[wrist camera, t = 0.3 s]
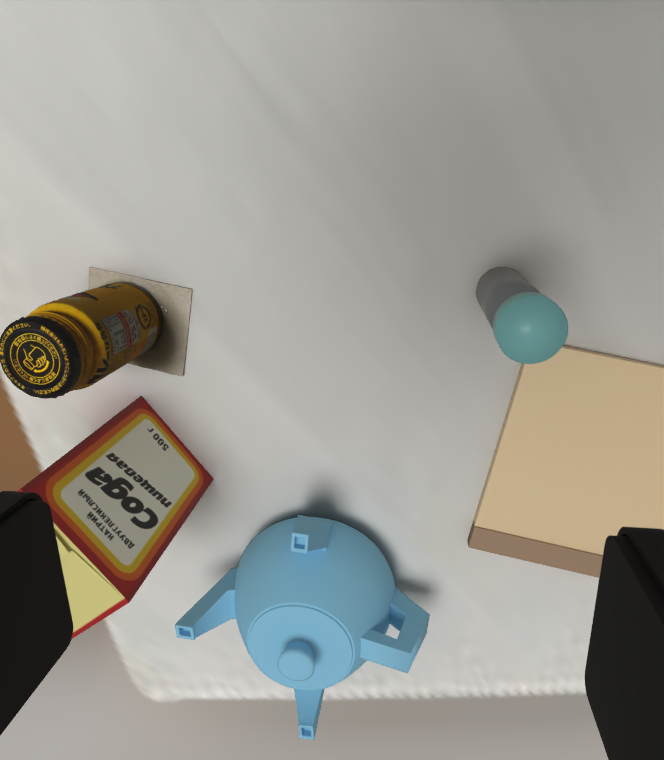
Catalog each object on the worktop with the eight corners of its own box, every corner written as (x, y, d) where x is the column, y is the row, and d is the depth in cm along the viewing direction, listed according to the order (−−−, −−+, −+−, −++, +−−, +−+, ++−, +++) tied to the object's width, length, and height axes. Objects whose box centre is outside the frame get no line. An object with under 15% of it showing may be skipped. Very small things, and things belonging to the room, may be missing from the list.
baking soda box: (213, 478, 50) (126, 606, 35) (162, 514, 52) (58, 649, 37) (141, 395, 48) (16, 491, 33) (90, 435, 50) (-49, 543, 35)
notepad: (529, 338, 42) (532, 342, 41) (869, 408, 40) (880, 413, 39) (467, 540, 48) (468, 547, 47) (759, 607, 46) (766, 616, 45)
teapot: (317, 666, 55) (296, 775, 45) (204, 565, 53) (154, 655, 43) (437, 585, 50) (443, 687, 40) (318, 469, 48) (292, 546, 38)
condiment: (90, 266, 45) (-19, 294, 34) (192, 289, 44) (116, 324, 33) (87, 353, 47) (-16, 405, 36) (184, 375, 47) (110, 435, 36)
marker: (482, 261, 40) (507, 290, 29) (532, 271, 40) (577, 304, 29) (469, 309, 42) (488, 356, 30) (517, 319, 41) (555, 370, 30)
